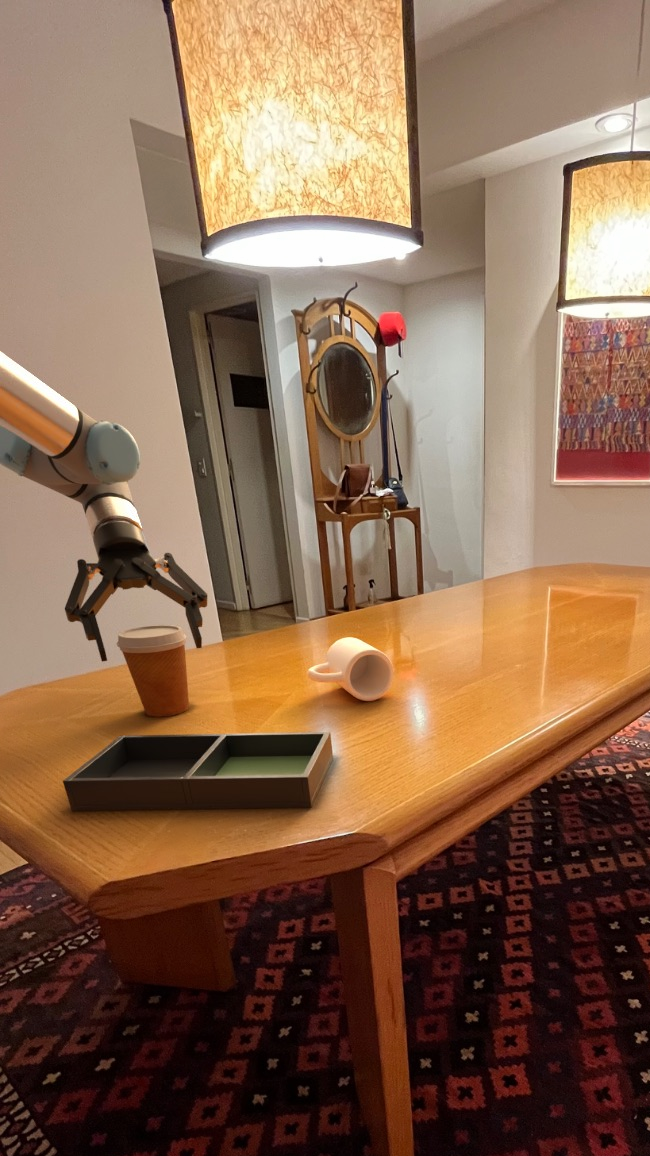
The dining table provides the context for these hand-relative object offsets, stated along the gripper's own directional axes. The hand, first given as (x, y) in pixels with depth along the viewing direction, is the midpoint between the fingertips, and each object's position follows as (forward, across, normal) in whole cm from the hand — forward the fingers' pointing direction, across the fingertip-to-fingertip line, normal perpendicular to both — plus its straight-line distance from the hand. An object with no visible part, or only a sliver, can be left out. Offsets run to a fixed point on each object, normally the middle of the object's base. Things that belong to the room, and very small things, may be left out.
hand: (152, 649), depth 101 cm
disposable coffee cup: (+8, 0, -4) cm, 9 cm away
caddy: (+30, 0, +18) cm, 35 cm away
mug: (+14, -26, +2) cm, 30 cm away
